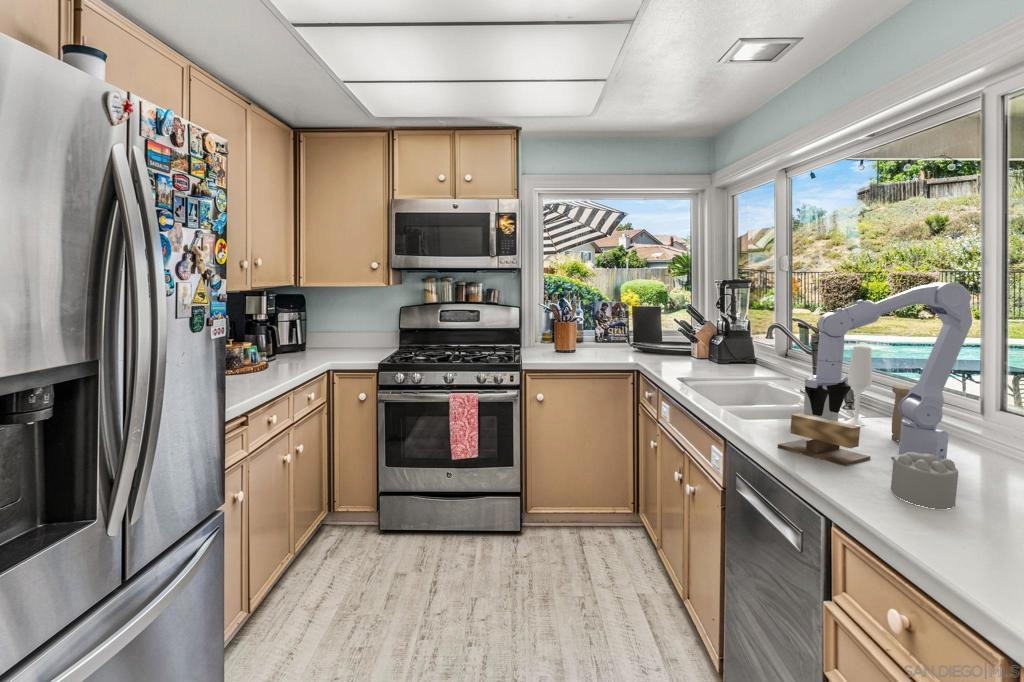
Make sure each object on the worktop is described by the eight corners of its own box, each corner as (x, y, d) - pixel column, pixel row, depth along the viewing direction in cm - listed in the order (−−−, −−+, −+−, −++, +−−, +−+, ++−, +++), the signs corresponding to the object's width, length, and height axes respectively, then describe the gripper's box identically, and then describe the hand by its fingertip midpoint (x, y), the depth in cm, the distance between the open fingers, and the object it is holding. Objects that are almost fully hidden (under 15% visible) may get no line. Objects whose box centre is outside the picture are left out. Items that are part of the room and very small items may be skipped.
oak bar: (858, 446, 151) (860, 426, 150) (850, 448, 149) (852, 428, 148) (798, 431, 164) (799, 413, 163) (790, 433, 162) (791, 414, 162)
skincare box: (837, 427, 185) (841, 378, 183) (830, 430, 180) (834, 380, 179) (808, 422, 191) (812, 375, 189) (801, 425, 186) (804, 377, 185)
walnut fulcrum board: (870, 459, 152) (871, 445, 152) (845, 466, 146) (846, 451, 146) (802, 441, 167) (803, 429, 167) (777, 447, 161) (778, 434, 161)
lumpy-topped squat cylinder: (942, 491, 130) (946, 452, 129) (964, 514, 118) (969, 470, 117) (886, 485, 133) (889, 446, 132) (902, 506, 121) (906, 463, 120)
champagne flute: (863, 427, 185) (870, 348, 183) (839, 423, 190) (846, 346, 188) (871, 424, 190) (878, 347, 187) (848, 420, 195) (854, 345, 192)
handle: (905, 438, 174) (910, 386, 172) (911, 444, 168) (916, 390, 166) (886, 436, 175) (890, 384, 174) (890, 442, 169) (895, 388, 168)
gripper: (830, 356, 161) (826, 407, 163) (798, 360, 154) (794, 413, 155) (857, 360, 155) (853, 413, 157) (825, 363, 148) (820, 419, 149)
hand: (825, 413), depth 156 cm, fingers open, 7 cm apart
